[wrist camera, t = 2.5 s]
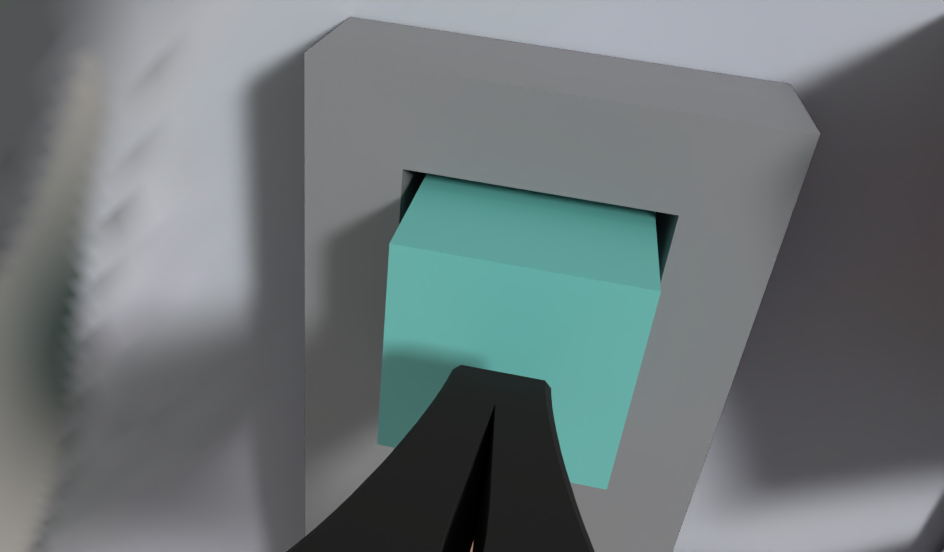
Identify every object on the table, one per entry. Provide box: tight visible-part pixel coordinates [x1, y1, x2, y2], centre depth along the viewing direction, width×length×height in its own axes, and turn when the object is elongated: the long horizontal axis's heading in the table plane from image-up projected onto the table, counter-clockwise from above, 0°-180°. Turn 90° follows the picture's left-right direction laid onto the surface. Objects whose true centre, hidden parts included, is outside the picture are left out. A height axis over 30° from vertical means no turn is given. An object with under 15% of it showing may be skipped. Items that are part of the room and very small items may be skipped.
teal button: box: [377, 173, 661, 490], centre depth 14 cm, size 4×4×4 cm
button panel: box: [304, 17, 820, 552], centre depth 20 cm, size 24×8×2 cm, turn 174°
